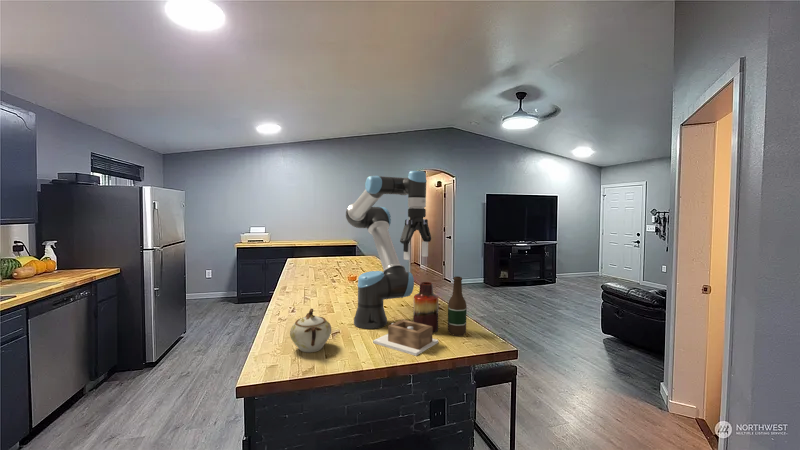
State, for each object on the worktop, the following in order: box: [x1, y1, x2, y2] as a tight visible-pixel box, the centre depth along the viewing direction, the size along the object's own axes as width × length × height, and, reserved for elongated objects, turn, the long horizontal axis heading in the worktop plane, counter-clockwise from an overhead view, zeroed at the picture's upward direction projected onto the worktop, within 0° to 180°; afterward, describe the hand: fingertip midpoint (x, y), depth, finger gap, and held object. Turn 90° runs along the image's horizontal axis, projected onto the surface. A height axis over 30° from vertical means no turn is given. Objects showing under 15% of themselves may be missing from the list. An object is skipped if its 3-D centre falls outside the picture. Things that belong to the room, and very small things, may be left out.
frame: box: [387, 319, 433, 350], centre depth 133 cm, size 14×10×6 cm
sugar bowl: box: [289, 308, 332, 353], centre depth 128 cm, size 20×15×15 cm
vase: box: [412, 281, 439, 334], centre depth 150 cm, size 11×11×20 cm
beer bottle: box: [447, 275, 468, 337], centre depth 146 cm, size 8×8×24 cm
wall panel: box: [372, 322, 439, 357], centre depth 135 cm, size 20×16×6 cm
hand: (416, 258), depth 146 cm, fingers open, 13 cm apart
